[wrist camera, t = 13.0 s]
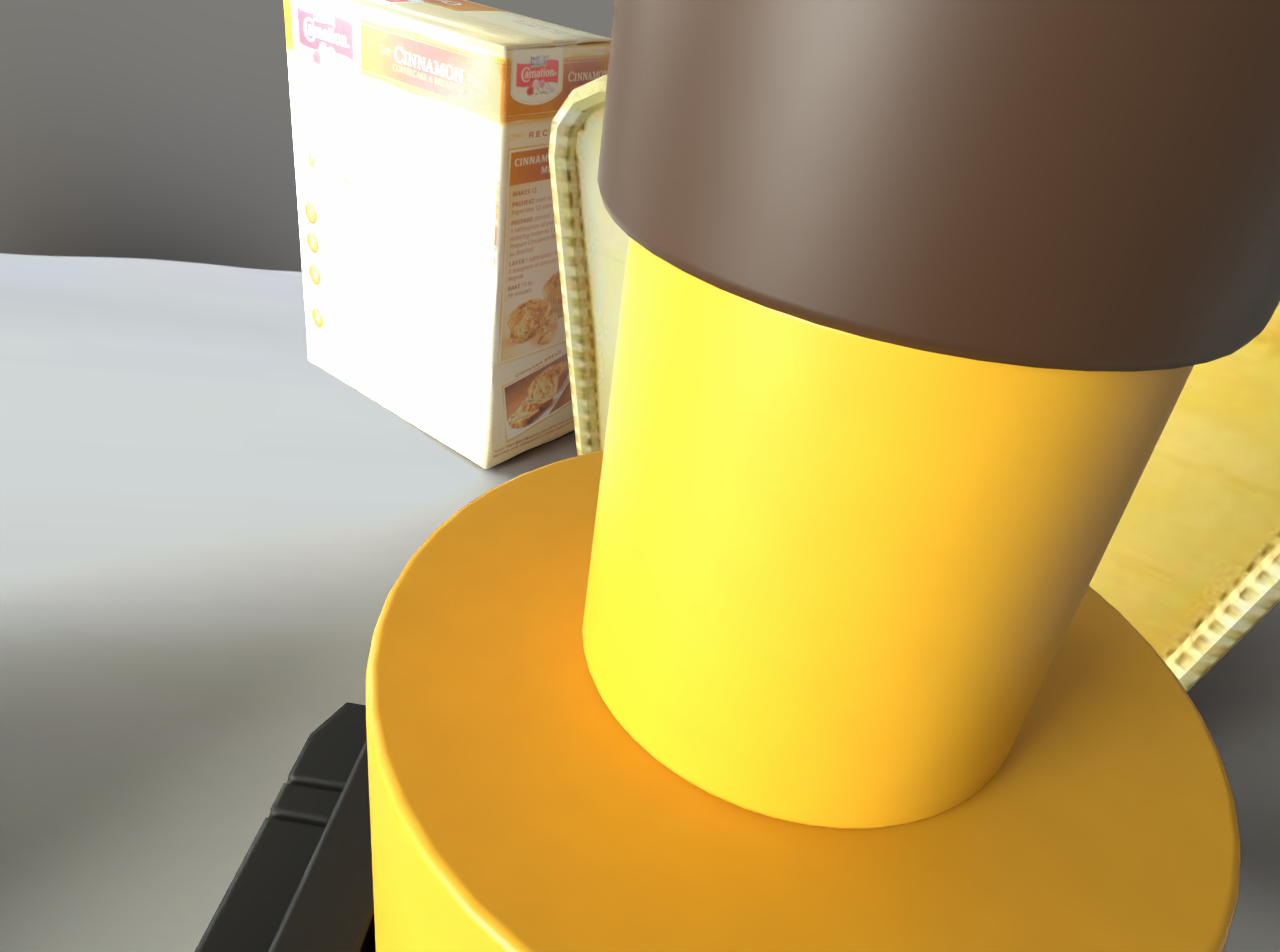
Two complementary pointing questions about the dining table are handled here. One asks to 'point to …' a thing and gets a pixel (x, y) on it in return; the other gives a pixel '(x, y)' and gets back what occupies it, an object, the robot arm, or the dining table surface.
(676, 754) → the bottle
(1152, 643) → the picnic basket
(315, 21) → the coffeecake box
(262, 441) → the dining table surface
